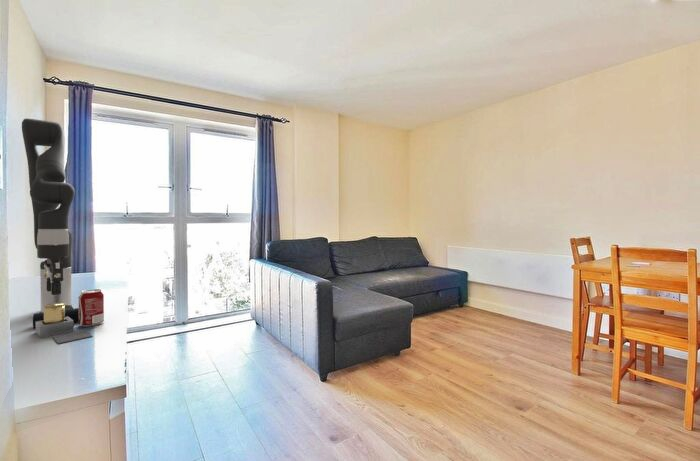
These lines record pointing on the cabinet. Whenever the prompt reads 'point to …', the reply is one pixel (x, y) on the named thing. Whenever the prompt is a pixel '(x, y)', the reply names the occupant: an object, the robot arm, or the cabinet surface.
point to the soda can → (91, 308)
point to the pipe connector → (68, 312)
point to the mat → (72, 337)
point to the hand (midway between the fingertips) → (53, 292)
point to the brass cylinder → (54, 313)
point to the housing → (54, 327)
